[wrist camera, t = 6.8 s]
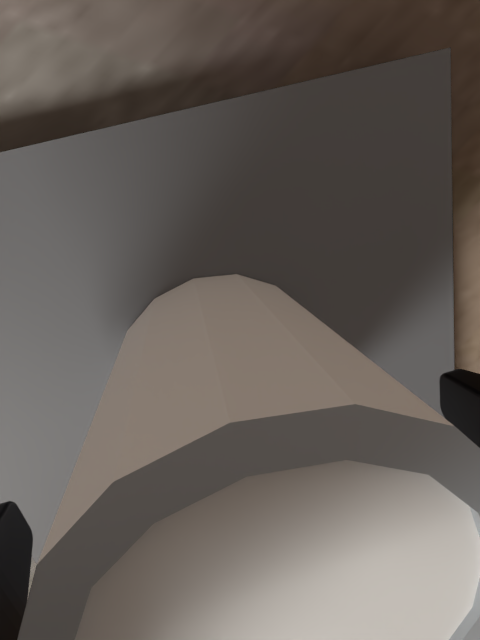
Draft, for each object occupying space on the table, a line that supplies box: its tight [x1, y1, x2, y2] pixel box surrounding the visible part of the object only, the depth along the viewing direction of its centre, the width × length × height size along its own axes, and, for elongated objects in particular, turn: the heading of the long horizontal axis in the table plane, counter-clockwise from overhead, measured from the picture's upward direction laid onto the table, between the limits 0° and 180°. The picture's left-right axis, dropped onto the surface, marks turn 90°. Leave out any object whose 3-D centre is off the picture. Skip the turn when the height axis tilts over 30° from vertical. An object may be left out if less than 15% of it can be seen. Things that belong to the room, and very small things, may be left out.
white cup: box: [17, 274, 480, 640], centre depth 9 cm, size 7×7×7 cm
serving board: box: [0, 47, 454, 564], centre depth 13 cm, size 14×13×1 cm
